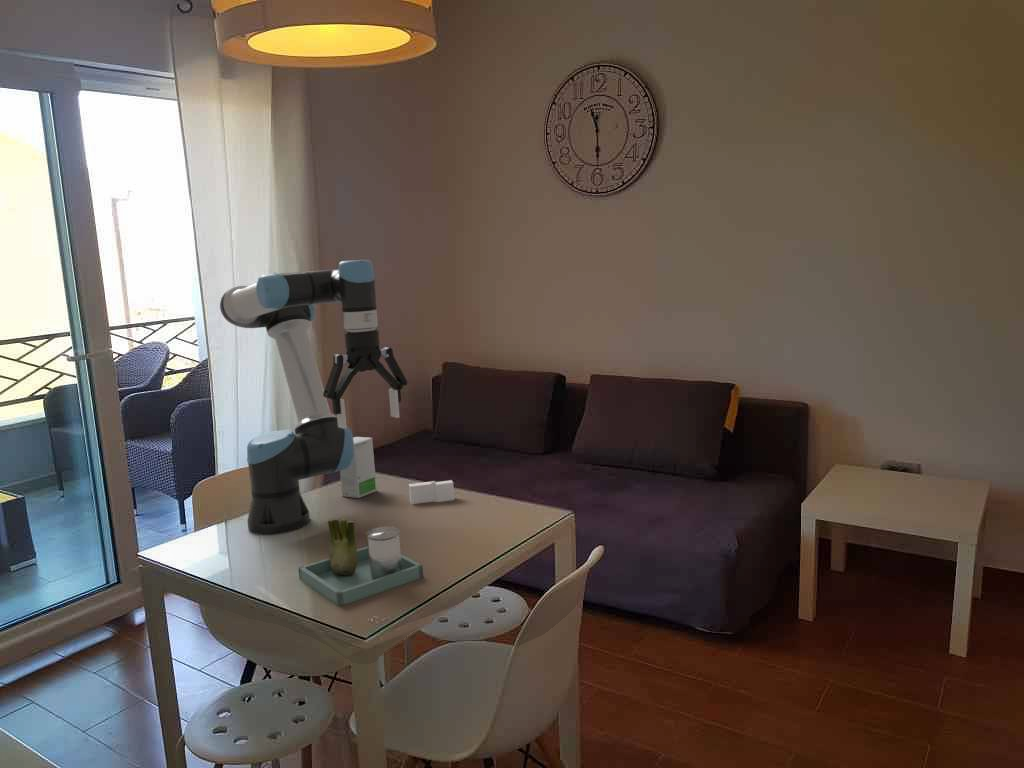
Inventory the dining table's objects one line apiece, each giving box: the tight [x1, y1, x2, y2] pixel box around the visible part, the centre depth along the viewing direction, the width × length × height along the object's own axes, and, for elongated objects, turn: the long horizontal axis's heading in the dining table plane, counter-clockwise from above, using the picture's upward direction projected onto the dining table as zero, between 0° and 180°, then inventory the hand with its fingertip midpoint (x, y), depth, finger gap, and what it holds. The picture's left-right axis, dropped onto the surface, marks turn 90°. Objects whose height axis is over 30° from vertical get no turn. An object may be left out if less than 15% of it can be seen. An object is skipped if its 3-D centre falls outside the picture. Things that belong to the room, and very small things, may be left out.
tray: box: [298, 545, 424, 607], centre depth 169 cm, size 18×19×4 cm
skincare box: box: [339, 436, 378, 499], centre depth 229 cm, size 8×7×16 cm
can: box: [366, 526, 402, 581], centre depth 167 cm, size 7×7×10 cm
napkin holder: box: [408, 479, 455, 505], centre depth 220 cm, size 15×11×6 cm
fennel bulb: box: [327, 518, 358, 576], centre depth 171 cm, size 6×5×12 cm
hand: (369, 422), depth 187 cm, fingers open, 13 cm apart
